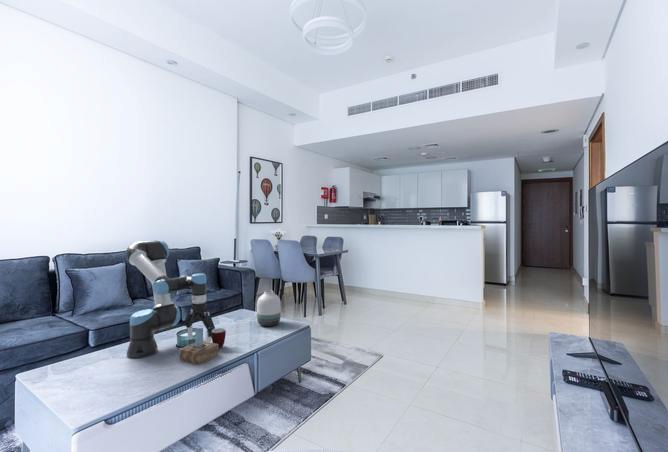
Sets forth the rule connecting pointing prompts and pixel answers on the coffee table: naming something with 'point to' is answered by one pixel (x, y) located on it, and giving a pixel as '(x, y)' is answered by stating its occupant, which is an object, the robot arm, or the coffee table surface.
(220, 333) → the mug
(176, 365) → the coffee table surface
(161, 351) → the coffee table surface
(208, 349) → the socket block
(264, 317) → the vase
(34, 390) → the coffee table surface
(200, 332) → the peg
